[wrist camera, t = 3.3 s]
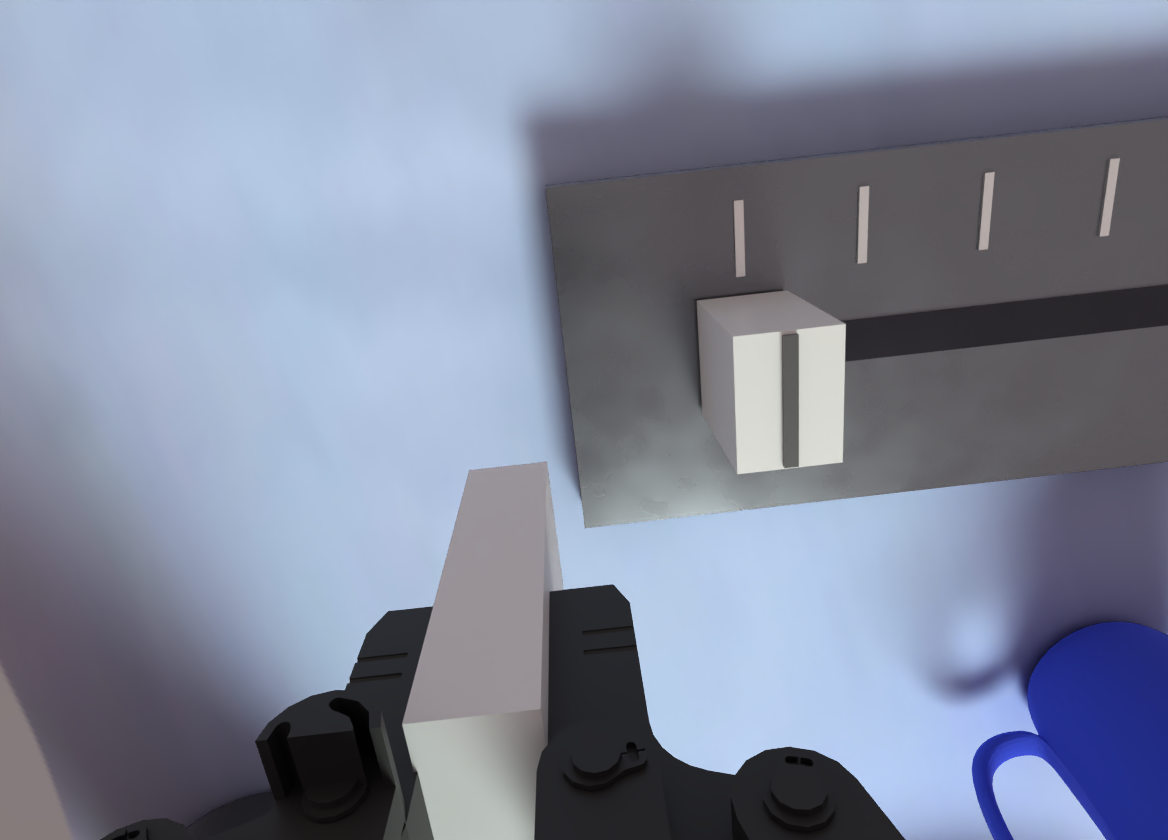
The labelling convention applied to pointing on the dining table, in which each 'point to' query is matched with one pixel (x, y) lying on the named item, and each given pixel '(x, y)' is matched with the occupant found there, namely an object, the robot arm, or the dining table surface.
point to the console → (877, 313)
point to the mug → (1096, 730)
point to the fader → (772, 380)
